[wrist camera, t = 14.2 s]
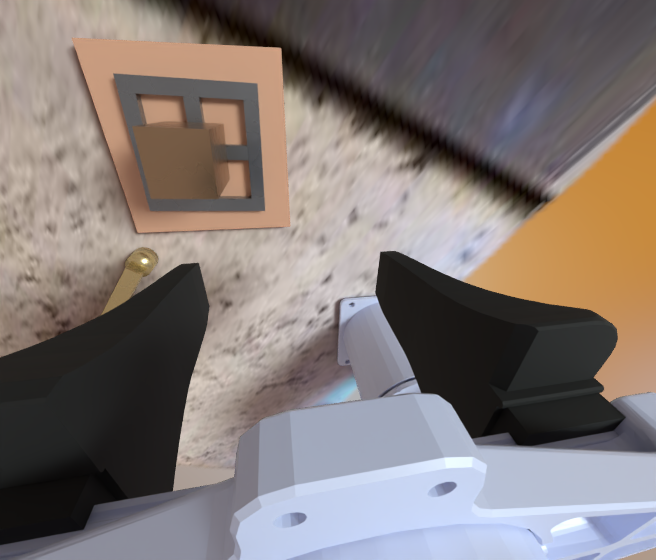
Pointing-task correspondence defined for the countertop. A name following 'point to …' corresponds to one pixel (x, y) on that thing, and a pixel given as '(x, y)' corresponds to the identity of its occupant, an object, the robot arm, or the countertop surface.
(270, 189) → the tile
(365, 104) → the countertop surface
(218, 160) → the grey window frame
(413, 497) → the robot arm
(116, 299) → the brass bent rod
